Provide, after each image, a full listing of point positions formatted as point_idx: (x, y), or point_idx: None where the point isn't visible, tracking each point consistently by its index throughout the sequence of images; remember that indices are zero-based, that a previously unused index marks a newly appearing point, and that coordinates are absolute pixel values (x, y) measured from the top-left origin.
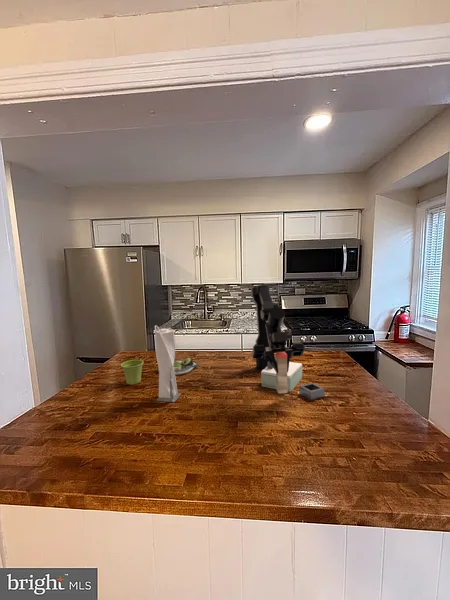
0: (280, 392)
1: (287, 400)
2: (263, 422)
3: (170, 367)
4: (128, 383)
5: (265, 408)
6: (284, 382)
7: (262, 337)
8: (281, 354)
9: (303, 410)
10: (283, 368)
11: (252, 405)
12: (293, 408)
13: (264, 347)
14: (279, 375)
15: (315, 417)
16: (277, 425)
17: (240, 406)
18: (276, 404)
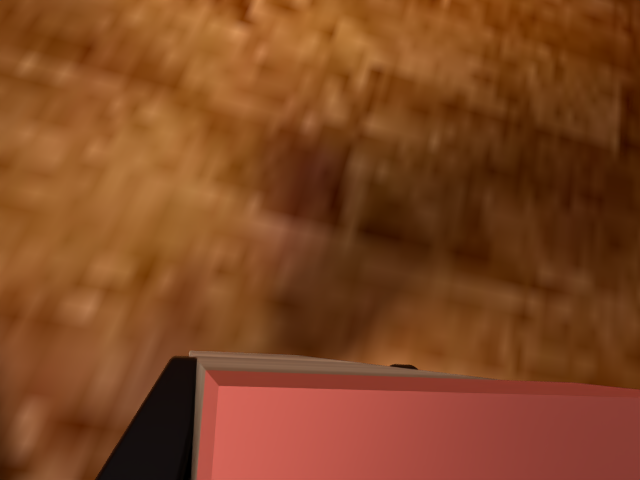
0: (276, 354)
1: None
2: (464, 95)
3: None
4: None
5: (410, 289)
6: (237, 355)
7: None
8: (560, 437)
9: (94, 183)
10: (293, 364)
11: (502, 362)
12: (171, 238)
13: None
14: (343, 362)
15: (45, 49)
16: (382, 34)
17: (591, 362)
18: (300, 343)
